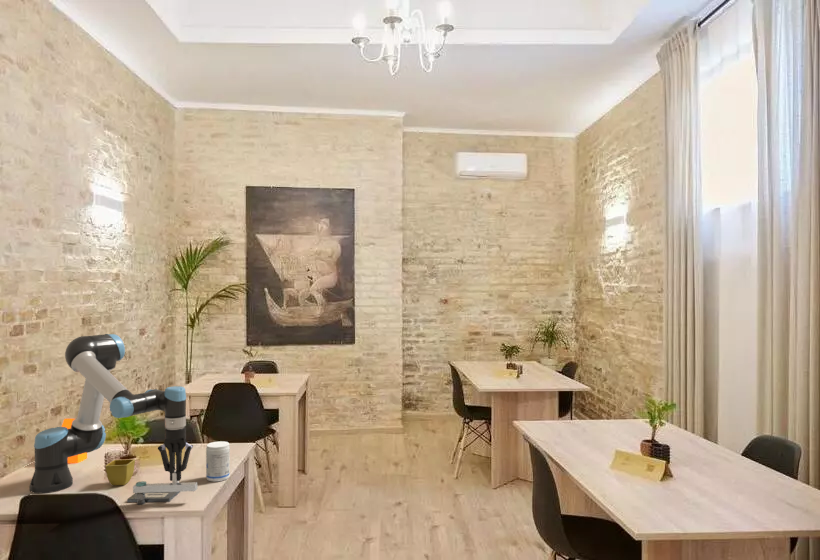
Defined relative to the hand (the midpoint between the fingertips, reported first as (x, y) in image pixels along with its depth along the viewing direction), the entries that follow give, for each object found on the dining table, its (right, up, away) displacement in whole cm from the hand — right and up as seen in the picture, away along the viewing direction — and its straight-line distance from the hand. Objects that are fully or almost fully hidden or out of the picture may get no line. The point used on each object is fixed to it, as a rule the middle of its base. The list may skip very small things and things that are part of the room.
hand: (175, 488), depth 226 cm
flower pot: (-31, -5, +20) cm, 37 cm away
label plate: (-10, -4, +5) cm, 12 cm away
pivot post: (-12, -4, -3) cm, 13 cm away
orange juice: (-70, -6, +53) cm, 88 cm away
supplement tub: (+8, -5, +25) cm, 26 cm away
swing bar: (-3, 0, -3) cm, 4 cm away
